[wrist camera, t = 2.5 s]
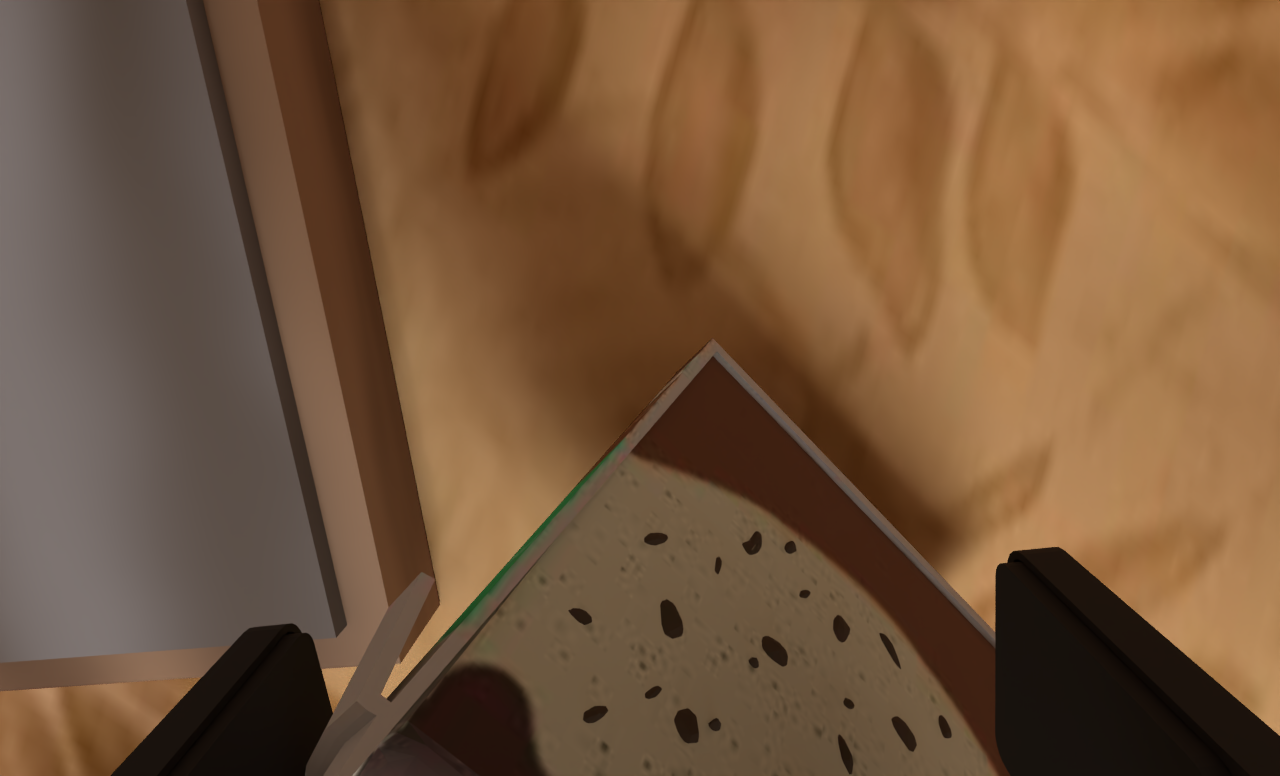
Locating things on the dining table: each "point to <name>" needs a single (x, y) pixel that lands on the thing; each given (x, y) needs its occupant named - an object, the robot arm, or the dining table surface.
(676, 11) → the dining table surface
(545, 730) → the food container
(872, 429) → the dining table surface
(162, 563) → the podium
